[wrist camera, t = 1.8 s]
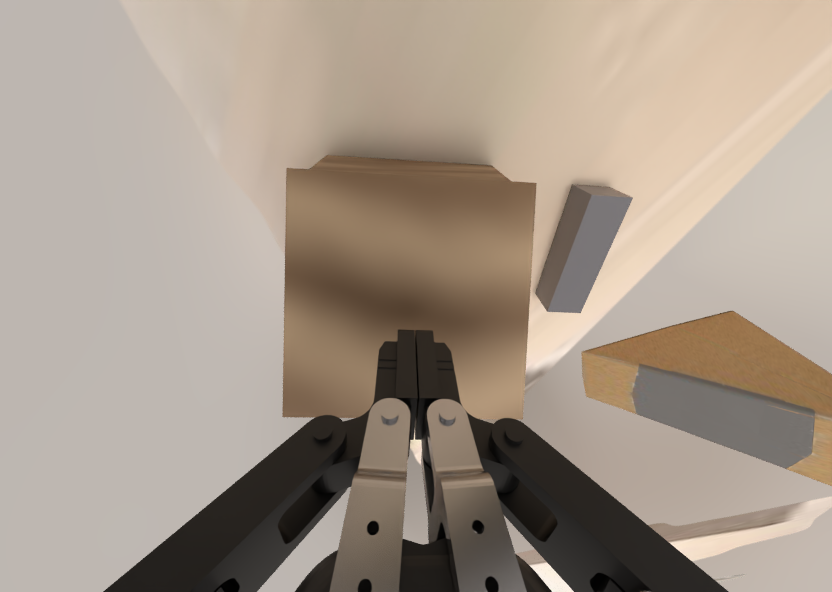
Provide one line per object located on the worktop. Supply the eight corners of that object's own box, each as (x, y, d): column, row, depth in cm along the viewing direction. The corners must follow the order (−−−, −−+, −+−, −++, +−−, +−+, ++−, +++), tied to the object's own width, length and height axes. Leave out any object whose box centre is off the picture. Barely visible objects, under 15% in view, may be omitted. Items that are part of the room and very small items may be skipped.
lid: (293, 175, 16) (286, 168, 15) (528, 188, 17) (536, 183, 16) (289, 408, 17) (282, 417, 16) (515, 411, 17) (522, 419, 16)
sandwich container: (579, 350, 34) (683, 501, 21) (733, 307, 31) (956, 450, 19) (584, 397, 38) (672, 545, 26) (720, 363, 36) (891, 509, 23)
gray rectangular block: (570, 183, 24) (591, 194, 21) (607, 186, 24) (632, 197, 22) (534, 291, 29) (547, 311, 27) (564, 293, 30) (580, 312, 27)
